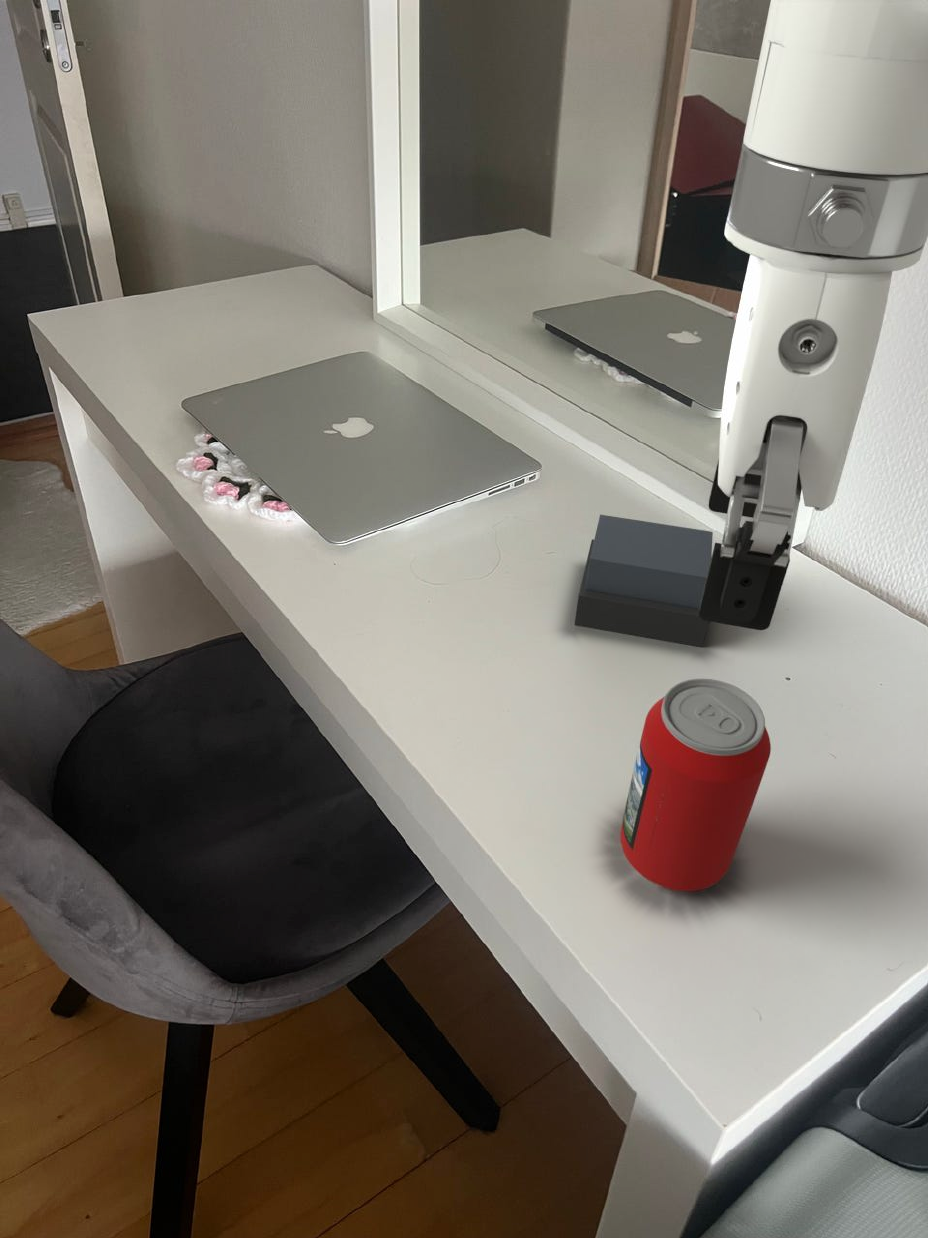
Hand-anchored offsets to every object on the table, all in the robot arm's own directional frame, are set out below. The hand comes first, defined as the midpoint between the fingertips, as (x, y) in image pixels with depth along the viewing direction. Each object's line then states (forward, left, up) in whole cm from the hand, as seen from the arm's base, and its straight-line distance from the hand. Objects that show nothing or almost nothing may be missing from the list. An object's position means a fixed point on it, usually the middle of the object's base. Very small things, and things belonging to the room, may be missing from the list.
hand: (735, 562), depth 46 cm
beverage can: (0, +3, -20) cm, 20 cm away
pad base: (+4, -21, -19) cm, 28 cm away
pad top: (+4, -21, -16) cm, 27 cm away
